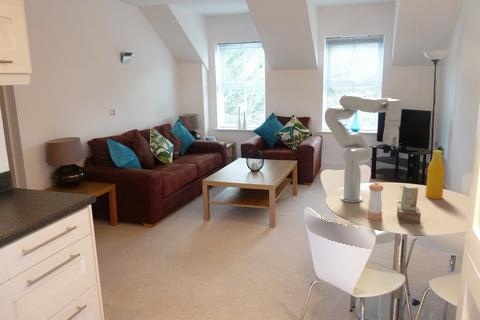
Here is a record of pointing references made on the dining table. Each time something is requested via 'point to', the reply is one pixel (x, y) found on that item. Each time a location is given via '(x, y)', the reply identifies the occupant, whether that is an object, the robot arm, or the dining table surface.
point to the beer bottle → (435, 176)
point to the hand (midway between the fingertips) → (389, 154)
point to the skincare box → (409, 198)
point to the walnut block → (408, 216)
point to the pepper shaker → (375, 202)
